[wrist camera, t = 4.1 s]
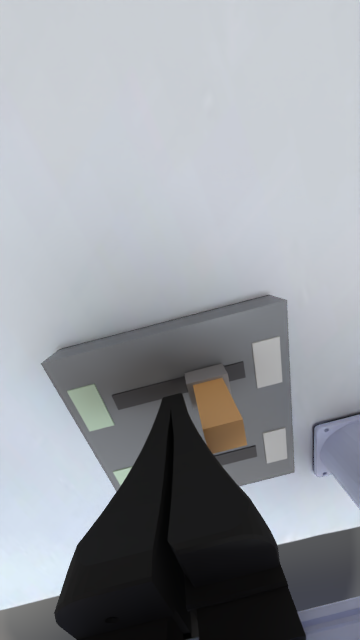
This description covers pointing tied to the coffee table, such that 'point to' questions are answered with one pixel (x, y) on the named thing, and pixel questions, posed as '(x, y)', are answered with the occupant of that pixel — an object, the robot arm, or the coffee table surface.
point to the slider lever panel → (184, 385)
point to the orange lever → (216, 408)
